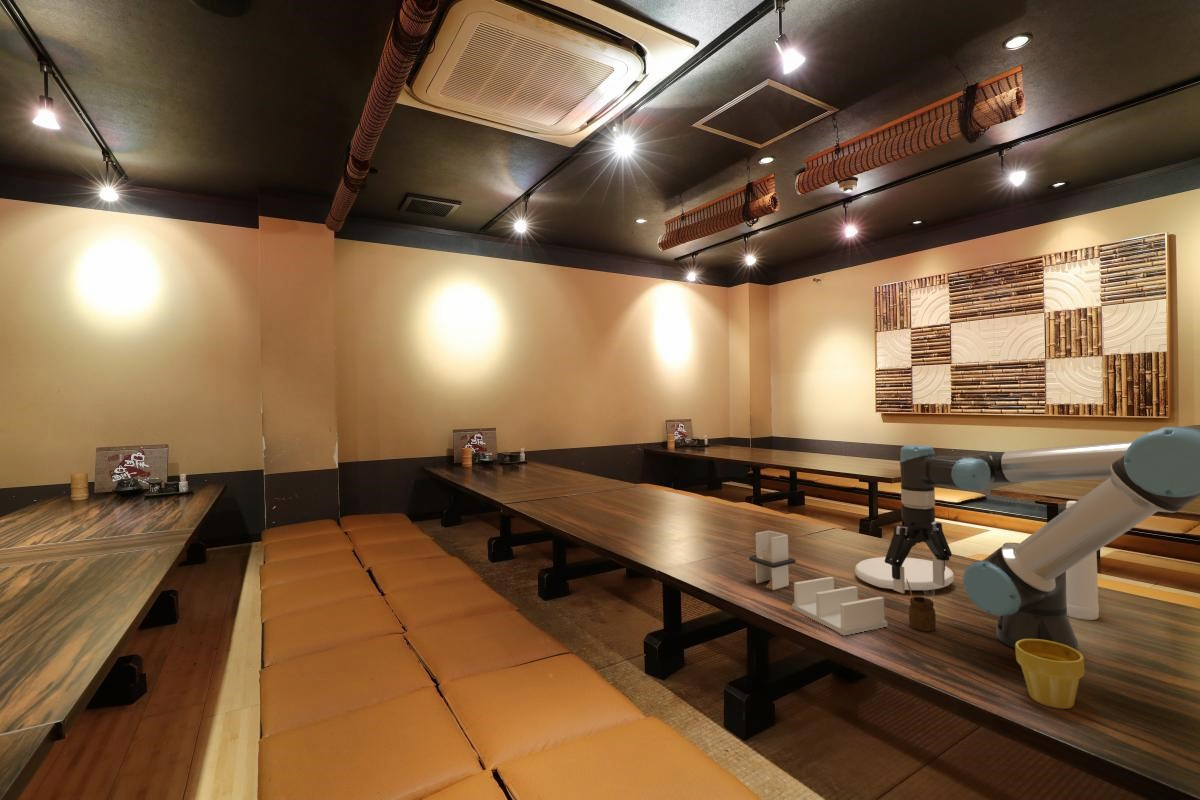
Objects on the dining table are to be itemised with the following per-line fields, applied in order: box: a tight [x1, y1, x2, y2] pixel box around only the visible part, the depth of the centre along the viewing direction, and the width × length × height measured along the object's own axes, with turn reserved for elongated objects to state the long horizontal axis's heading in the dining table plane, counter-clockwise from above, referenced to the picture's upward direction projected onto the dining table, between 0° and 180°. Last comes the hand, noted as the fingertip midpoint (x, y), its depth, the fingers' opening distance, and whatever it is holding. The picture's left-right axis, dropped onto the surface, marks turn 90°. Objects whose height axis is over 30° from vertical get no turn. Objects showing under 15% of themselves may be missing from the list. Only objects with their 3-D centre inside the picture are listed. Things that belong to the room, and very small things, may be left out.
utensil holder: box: [906, 579, 937, 632], centre depth 140 cm, size 6×6×12 cm
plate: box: [854, 556, 955, 591], centre depth 175 cm, size 28×6×27 cm
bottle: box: [1065, 500, 1100, 621], centre depth 145 cm, size 8×8×30 cm
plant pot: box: [1014, 639, 1085, 710], centre depth 106 cm, size 10×10×10 cm
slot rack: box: [791, 576, 889, 637], centre depth 147 cm, size 20×14×8 cm
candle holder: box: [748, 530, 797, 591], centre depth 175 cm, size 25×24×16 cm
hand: (919, 587), depth 140 cm, fingers open, 13 cm apart
